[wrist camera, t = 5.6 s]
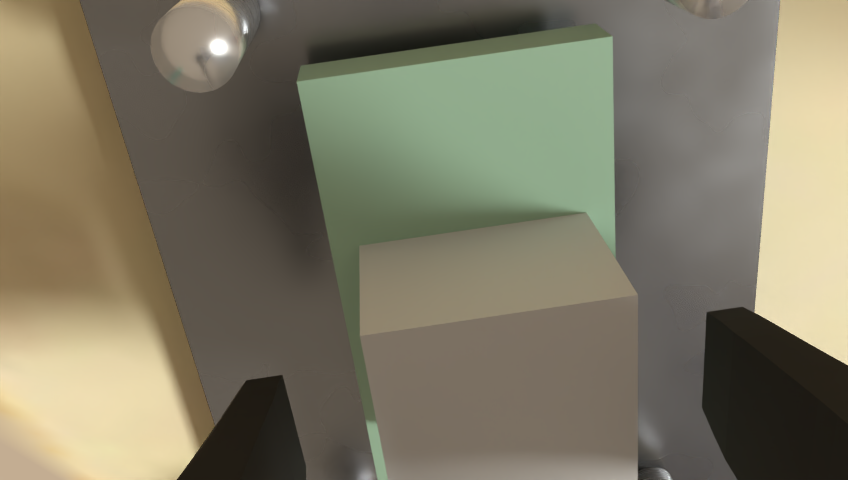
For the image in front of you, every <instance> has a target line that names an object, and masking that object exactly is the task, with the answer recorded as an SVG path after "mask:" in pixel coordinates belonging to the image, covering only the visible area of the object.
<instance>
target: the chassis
mask: <svg viewBox="0 0 848 480" xmlns="http://www.w3.org/2000/svg"><path fill="white" fill-rule="evenodd" d="M80 3H81V6H82V9H83V12H84V16H85V19H86V22H87V25H88V28H89V31H90V34H91V38H92V41H93V44H94V47H95V50H96V53H97V56H98V60H99V63H100V66H101V69H102V72H103V75H104V78H105V81H106V85H107V88H108V91H109V94H110V97H111V100H112V103H113V107H114V110H115V113H116V116H117V119H118V122H119V125H120V129H121V132H122V135H123V138H124V141H125V144H126V147H127V151H128V154H129V157H130V160H131V163H132V166H133V169H134V173H135V176H136V179H137V182H138V185H139V188H140V191H141V195H142V198H143V201H144V204H145V207H146V210H147V213H148V216H149V220H150V223H151V226H152V229H153V232H154V235H155V238H156V242H157V245H158V248H159V251H160V254H161V257H162V260H163V264H164V267H165V270H166V273H167V276H168V279H169V282H170V286H171V289H172V292H173V295H174V298H175V301H176V304H177V308H178V311H179V314H180V317H181V320H182V323H183V326H184V330H185V333H186V336H187V339H188V342H189V345H190V348H191V352H192V355H193V358H194V361H195V364H196V367H197V370H198V373H199V377H200V380H201V383H202V386H203V389H204V392H205V395H206V399H207V402H208V405H209V408H210V411H211V414H212V417H213V421H214V424H215V426H216V424H217V423H218V421H219V420H220V418H221V417H222V415H223V414H224V412H225V411H226V409H227V408H228V406H229V405H230V403H231V402H232V400H233V399H234V397H235V395H236V394H237V392H238V391H239V390H240V388H241V387H242V385H243V384H244V383H245V382H246V380H251V379H257V378H264V377H271V376H278V375H283V378H284V382H285V386H286V390H287V394H288V398H289V402H290V406H291V410H292V413H293V417H294V421H295V425H296V429H297V433H298V437H299V441H300V444H301V448H302V452H303V456H304V460H305V464H306V480H378V479H377V474H376V469H375V464H374V459H373V454H372V450H371V445H370V440H369V435H368V430H367V425H366V420H365V415H364V410H363V405H362V400H361V396H360V391H359V386H358V381H357V376H356V371H355V366H354V361H353V356H352V351H351V346H350V342H349V337H348V332H347V327H346V322H345V317H344V312H343V307H342V302H341V297H340V292H339V288H338V283H337V278H336V273H335V268H334V263H333V258H332V253H331V248H330V243H329V238H328V233H327V229H326V224H325V219H324V214H323V209H322V204H321V199H320V194H319V189H318V184H317V179H316V175H315V170H314V165H313V160H312V155H311V150H310V145H309V140H308V135H307V130H306V125H305V121H304V116H303V111H302V106H301V101H300V96H299V91H298V86H297V78H298V74H299V70H300V67H301V66H302V65H309V64H316V63H323V62H330V61H337V60H344V59H351V58H357V57H364V56H371V55H378V54H385V53H392V52H399V51H406V50H413V49H420V48H427V47H434V46H441V45H448V44H455V43H462V42H469V41H476V40H483V39H490V38H497V37H504V36H511V35H518V34H525V33H532V32H539V31H546V30H552V29H559V28H566V27H573V26H580V25H587V24H594V23H595V24H597V25H598V26H599V27H601V28H602V29H603V30H605V31H606V32H607V33H609V34H610V35H612V36H613V104H614V179H615V253H616V260H617V262H618V264H619V265H620V267H621V268H622V270H623V272H624V273H625V275H626V276H627V278H628V280H629V281H630V283H631V284H632V286H633V288H634V289H635V291H636V292H637V294H638V480H737V478H736V477H735V475H734V473H733V472H732V470H731V469H730V467H729V465H728V464H727V462H726V460H725V458H724V456H723V454H722V452H721V450H720V448H719V445H718V443H717V441H716V439H715V437H714V435H713V432H712V430H711V428H710V425H709V423H708V421H707V418H706V416H705V414H704V412H703V409H702V394H703V374H704V353H705V333H706V313H707V312H710V311H716V310H723V309H730V308H737V307H744V308H746V309H748V310H750V311H752V312H754V309H755V297H756V285H757V273H758V261H759V249H760V237H761V225H762V213H763V201H764V188H765V176H766V164H767V152H768V140H769V128H770V116H771V104H772V92H773V80H774V68H775V55H776V43H777V31H778V19H779V7H780V0H80Z"/></svg>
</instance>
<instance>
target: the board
mask: <svg viewBox="0 0 848 480" xmlns="http://www.w3.org/2000/svg"><path fill="white" fill-rule="evenodd" d="M297 86H298V91H299V96H300V101H301V106H302V111H303V116H304V121H305V125H306V130H307V135H308V140H309V145H310V150H311V155H312V160H313V165H314V170H315V175H316V179H317V184H318V189H319V194H320V199H321V204H322V209H323V214H324V219H325V224H326V229H327V233H328V238H329V243H330V248H331V253H332V258H333V263H334V268H335V273H336V278H337V283H338V288H339V292H340V297H341V302H342V307H343V312H344V317H345V322H346V327H347V332H348V337H349V342H350V346H351V351H352V356H353V361H354V366H355V371H356V376H357V381H358V386H359V391H360V396H361V400H362V405H363V410H364V415H365V420H366V425H367V430H368V435H369V440H370V445H371V450H372V454H373V459H374V464H375V469H376V474H377V479H378V480H638V294H637V292H636V291H635V289H634V288H633V286H632V284H631V283H630V281H629V280H628V278H627V276H626V275H625V273H624V272H623V270H622V268H621V267H620V265H619V264H618V262H617V260H616V253H615V179H614V104H613V36H612V35H610V34H609V33H607V32H606V31H605V30H603V29H602V28H601V27H599V26H598V25H597V24H595V23H594V24H587V25H580V26H573V27H566V28H559V29H552V30H546V31H539V32H532V33H525V34H518V35H511V36H504V37H497V38H490V39H483V40H476V41H469V42H462V43H455V44H448V45H441V46H434V47H427V48H420V49H413V50H406V51H399V52H392V53H385V54H378V55H371V56H364V57H357V58H351V59H344V60H337V61H330V62H323V63H316V64H309V65H302V66H301V67H300V70H299V74H298V78H297Z"/></svg>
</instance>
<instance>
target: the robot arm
mask: <svg viewBox="0 0 848 480" xmlns="http://www.w3.org/2000/svg"><path fill="white" fill-rule="evenodd" d="M702 409H703V412H704V414H705V416H706V418H707V421H708V423H709V425H710V428H711V430H712V432H713V435H714V437H715V439H716V441H717V443H718V445H719V448H720V450H721V452H722V454H723V456H724V458H725V460H726V462H727V464H728V465H729V467H730V469H731V470H732V472H733V473H734V475H735V477H736V478H737V480H848V365H846V364H844V363H842V362H841V361H839V360H837V359H835V358H833V357H832V356H830V355H828V354H826V353H824V352H823V351H821V350H819V349H817V348H815V347H814V346H812V345H810V344H808V343H807V342H805V341H803V340H801V339H800V338H798V337H796V336H795V335H793V334H791V333H789V332H788V331H786V330H784V329H782V328H781V327H779V326H777V325H775V324H774V323H772V322H770V321H768V320H767V319H765V318H763V317H761V316H759V315H758V314H756V313H754V312H752V311H750V310H748V309H746V308H744V307H737V308H730V309H723V310H716V311H710V312H707V313H706V333H705V353H704V374H703V394H702ZM177 480H306V464H305V460H304V456H303V452H302V448H301V444H300V441H299V437H298V433H297V429H296V425H295V421H294V417H293V413H292V410H291V406H290V402H289V398H288V394H287V390H286V386H285V382H284V378H283V375H278V376H271V377H264V378H257V379H251V380H246V382H245V383H244V384H243V385H242V387H241V388H240V390H239V391H238V392H237V394H236V395H235V397H234V399H233V400H232V402H231V403H230V405H229V406H228V408H227V409H226V411H225V412H224V414H223V415H222V417H221V418H220V420H219V421H218V423H217V424H216V426H215V427H214V429H213V430H212V432H211V433H210V435H209V436H208V437H207V439H206V440H205V442H204V443H203V444H202V446H201V447H200V449H199V450H198V451H197V453H196V454H195V456H194V457H193V458H192V460H191V461H190V463H189V464H188V465H187V467H186V468H185V470H184V471H183V472H182V474H181V475H180V476H179V477H178V479H177Z"/></svg>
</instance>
